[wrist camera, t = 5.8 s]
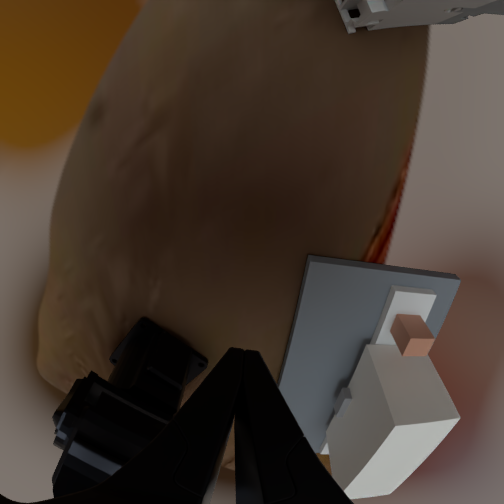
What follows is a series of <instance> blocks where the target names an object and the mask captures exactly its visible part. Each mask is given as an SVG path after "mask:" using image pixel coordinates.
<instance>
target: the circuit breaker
mask: <svg viewBox="0 0 504 504" xmlns="http://www.w3.org/2000/svg"><path fill="white" fill-rule="evenodd" d="M334 1H335V3H336V5H337V8H338V10H339V12H340V15H341V17H342V19H343V22H344V24H345V27H346V29H347V32H348V34H350V33H355V32H356V30H355V28H356V27H362V26H366V27H367V29H368V31H369V30H376V29H384V28H393V27H403V26H415V25H431V24H454V23H457V22H460V21H463V20H465V19H468V16H469V15H471V16H477V15H480V14H484V13H488V14H499V15H504V0H344V1H343V2H342V0H334ZM353 9H359V12H360V14H361V15H360V16H359V18H350V15H349V13H348V11H349V10H353Z"/></svg>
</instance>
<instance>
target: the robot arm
mask: <svg viewBox="0 0 504 504" xmlns="http://www.w3.org/2000/svg"><path fill="white" fill-rule="evenodd" d="M142 323H144V324H145V325H146V326H145V325H143V324H142ZM115 359H116V360H115ZM109 360H110V362H111V363H112V364H113V365H115V367H114V369H113V371H112V373H111V375H110V377H109V379H108V381H106V380H104V379H102V378H101V377H99V376H98V374H96V373H95V372H93V371H92V370H91V372H90V374H89V375H88V377H87V378H86V377H84V378H83V379H76V381H75V383H74V385H73V386H72V388H71V390H70V392H69V393H68V395H67V396H66V398H65V399H64V400H63V402H62V403H61V404H60V406H59V407H58V408H57V409H56V411H55V413H54V415H53V417H52V418H53V421H54V424H55V427H56V430H55V434H56V438H55V440H54V443H53V444H54V445H55V446H57V447H58V448H60V449H62V450H64V451H63V453H62V456H61V458H60V460H59V462H58V465H57V467H56V469H55V472H54V474H53V477H52V483H53V495H54V498H52V499H48V500H44V501H39V502H33V503H20V502H16V501H12V500H10V499H8V498H6V497H4V496H3V495H1V494H0V504H210V501H211V498H212V494H213V491H214V487H215V484H216V480H217V477H218V474H219V470H220V467H221V463H222V460H223V456H224V453H225V449H226V446H227V442H228V439H229V435H230V432H231V428H232V424H233V420H234V415H235V420H234V433H235V479H236V480H235V481H236V504H354V503H353V502H352V501H351V500H350V498H349V497H348V496H347V495H346V493H345V492H344V491H343V490H342V489H341V487H340V486H339V485H338V484H337V482H336V481H335V480H334V479H333V477H332V476H331V475H330V473H329V472H328V471H327V469H326V468H325V467H324V465H323V464H322V463H321V461H320V460H319V458H318V457H317V455H316V453H315V452H314V450H313V449H312V447H311V445H310V443H309V442H308V440H307V438H306V437H304V433H303V431H302V429H301V428H300V426H299V424H298V422H297V421H296V419H295V417H294V415H293V413H292V412H291V410H290V408H289V406H288V404H287V402H286V401H285V399H284V397H283V395H282V393H281V391H280V390H279V388H278V386H277V384H276V382H275V380H274V379H273V377H272V375H271V373H270V371H269V369H268V367H267V365H266V364H265V362H264V360H263V358H262V356H261V354H260V352H258V351H255V350H248V349H246V350H245V351H244V350H243V349H241V348H234V347H231V348H229V349H228V351H227V352H226V353H225V354H224V356H223V357H222V358H221V359H220V361H219V362H218V363H217V364H216V366H215V367H214V368H213V369H212V371H211V372H210V373H209V374H208V376H207V377H206V378H205V379H204V381H203V382H202V383H201V384H200V385H199V387H198V388H197V389H196V390H195V392H194V393H193V394H192V395H191V396H190V398H189V399H188V400H187V401H186V402H185V404H184V405H183V406H182V407H181V409H180V406H181V402H182V398H183V394H184V390H185V386H186V385H187V384H188V383H189V382H190V381H192V380H193V379H194V378H195V377H196V376H197V375H199V374H200V373H201V372H202V371H203V370H205V369H206V368H207V366H208V360H207V359H206V358H204V357H203V356H201V355H200V354H198V353H197V352H195V351H194V350H192V349H190V348H189V347H187V346H186V345H184V344H183V343H181V342H180V341H179V340H177V339H176V338H174V337H173V336H171V335H170V334H168V333H167V332H165V331H164V330H163V329H161V328H160V327H158V326H157V325H155V324H154V323H153V322H151V321H150V320H148V319H147V318H140V319H139V320H138V322H137V323H136V324H135V325H134V327H133V328H132V329H131V331H130V332H129V333H128V334H127V336H126V337H125V338H124V339H123V341H122V342H121V343H120V344H119V346H118V347H117V348H116V350H115V351H114V352H113V353H112V355H111V356H110V359H109ZM201 363H203V364H201Z"/></svg>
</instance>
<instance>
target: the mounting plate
mask: <svg viewBox="0 0 504 504" xmlns="http://www.w3.org/2000/svg"><path fill="white" fill-rule="evenodd" d="M460 282H461V280H460V278H459V277H457V276H456V274H450V273H443V272H436V271H428V270H420V269H413V268H405V267H398V266H390V265H383V264H375V263H367V262H360V261H352V260H344V259H337V258H329V257H321V256H314V255H308V258H307V262H306V267H305V272H304V276H303V281H302V285H301V290H300V294H299V299H298V303H297V307H296V312H295V316H294V320H293V324H292V329H291V333H290V337H289V341H288V345H287V349H286V353H285V357H284V361H283V365H282V369H281V372H280V376H279V380H278V384H277V386H278V388H279V390H280V391H281V393H282V395H283V397H284V399H285V401H286V402H287V404H288V406H289V408H290V410H291V412H292V413H293V415H294V417H295V419H296V421H297V422H298V424H299V426H300V428H301V429H302V431H303V433H304V437H306V438H307V440H308V442H309V443H310V445H311V447H312V449H313V450H314V452H315V453H320V454H329V450H328V443H327V436H326V431H327V429H328V427H329V425H330V423H331V421H332V419H333V417H334V415H335V411H334V405H335V403H336V400H337V398H338V396H339V394H340V392H341V389H342V388H348V386H349V383H350V381H351V379H352V377H353V374H354V372H355V370H356V368H357V365H358V363H359V361H360V358H361V356H362V353H363V351H364V349H365V346H366V344H369V345H396V346H397V347H398V349H399V351H400V353H401V355H402V356H427V354H428V352H429V351H430V348H431V347H432V345H433V343H434V341H435V339H436V336H437V335H438V332H439V330H440V328H441V326H442V324H443V322H444V320H445V317H446V315H447V313H448V311H449V308H450V306H451V304H452V301H453V299H454V297H455V294H456V292H457V289H458V287H459V284H460Z"/></svg>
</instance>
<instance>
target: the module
mask: <svg viewBox="0 0 504 504" xmlns="http://www.w3.org/2000/svg"><path fill="white" fill-rule="evenodd" d="M334 411H335V415H334V417H333V419H332V421H331V423H330V425H329V427H328V429H327V431H326V436H327V443H328V450H329V457H330V464H331V472H332V477H333V479H334V480H335V481H336V482H337V484H338V485H339V486H340V487H341V489H342V490H343V491H344V492H345V493H346V495H347V496H348V497H349V498H350V499H356V498H366V497H373V496H380V495H387V494H391V493H392V492H393V491H394V490H395V489H396V488H397V487H398V486H399V485H400V484H401V483H402V482H403V481H404V480H405V479H406V478H407V477H408V476H410V475H411V474H412V472H413V471H414V470H415V469H416V468H417V467H418V466H419V465H420V464H421V463H422V462H423V461H424V460H425V459H426V458H427V457H428V455H430V453H431V452H432V451H433V450H434V449H435V448H436V446H438V444H439V443H440V442H441V441H442V440H443V439H444V437H445V436H446V435H447V434H448V433H449V431H450V430H451V429H452V428H453V427H454V425H455V424H456V423H457V422H458V420H459V419H460V416H459V414H458V412H457V410H456V408H455V406H454V404H453V402H452V400H451V398H450V396H449V394H448V392H447V390H446V388H445V386H444V384H443V382H442V380H441V378H440V377H439V375H438V373H437V371H436V369H435V367H434V365H433V364H432V362H431V360H430V358H429V356H428V354H427V356H402V355H401V353H400V351H399V349H398V347H397V346H396V345H369V344H366V346H365V349H364V351H363V353H362V356H361V358H360V361H359V363H358V365H357V368H356V370H355V372H354V374H353V377H352V379H351V381H350V383H349V386H348V388H342V389H341V392H340V394H339V396H338V398H337V400H336V403H335V405H334Z"/></svg>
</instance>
